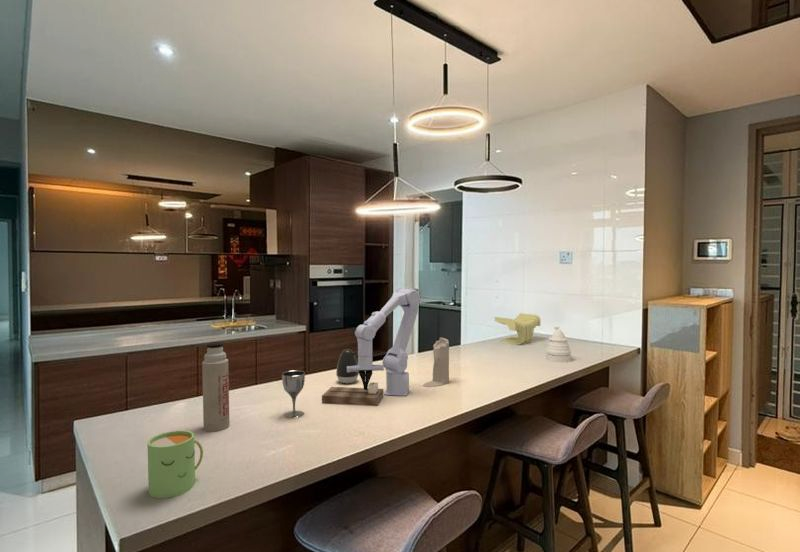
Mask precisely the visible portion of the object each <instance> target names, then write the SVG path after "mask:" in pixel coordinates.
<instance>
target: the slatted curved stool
mask: <svg viewBox="0 0 800 552" xmlns="http://www.w3.org/2000/svg"><path fill="white" fill-rule="evenodd" d="M494 322H497V323H499V324H502V325H506V326H508V329H509V331H511V332H516V334H517V336H515V337H513V336H511V337H506V338H503V339H502V343H506V344H507V343H508V344H512V345H522V344H527V343H531V342H532V341H533V338H534V337H533V335H534V330H535V328H536V327H537V326H538V327H541V318H540V316H539V315H537V314H532V313H523V312H521V313H519V314H518V315H517V316H516V317H515V318H514V319H513V318H507V317H506V318H505V317H497V316H494Z"/></svg>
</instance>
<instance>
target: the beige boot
mask: <svg viewBox="0 0 800 552" xmlns="http://www.w3.org/2000/svg"><path fill="white" fill-rule="evenodd" d="M432 366H433V367H432V368H433V369H432V380H430V381H428V382H425V383H424V384H423V385H422V386H423V387H426V388H431V387H440V386H443V385H448V384H449V383H450V343H449V339H447V338H445V337H439V340H436V341H435V343H434V344H433V365H432Z"/></svg>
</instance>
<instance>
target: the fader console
mask: <svg viewBox="0 0 800 552" xmlns="http://www.w3.org/2000/svg"><path fill="white" fill-rule="evenodd" d="M383 398H384V388H378V391H377V393H376V394H371V393H368V388H367V390H364V387H347V386H346V387H345V386H331V387H329V388H328V389H327V390H326V391H325V392H324V393H323V394H322V395H321V404H328V405H329V404H330V405H331V404H332V405H353V406H371V407H372V406H373V407H377V406H378V405H379V404H380V402H381V401H382V399H383Z"/></svg>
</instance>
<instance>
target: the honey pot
mask: <svg viewBox="0 0 800 552" xmlns="http://www.w3.org/2000/svg"><path fill="white" fill-rule="evenodd" d="M553 327H554V330H555V331H554V332H553V333H552V335H551V336H550V337H548V344H547V347H546V349H545V350H546V351H545V352H546V353H545V360H546V361H548V362H549V361H550V362H554V363H568V362H571V360H572V359H571V358H572V354H571V352H572V351H571V349H570V345H569V343H568V338H566V336H565V334H564V332H563V331H562V330H561V329H560V326H553Z"/></svg>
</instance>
